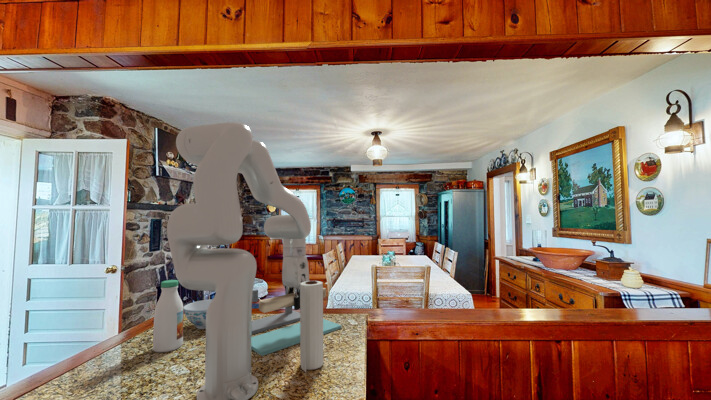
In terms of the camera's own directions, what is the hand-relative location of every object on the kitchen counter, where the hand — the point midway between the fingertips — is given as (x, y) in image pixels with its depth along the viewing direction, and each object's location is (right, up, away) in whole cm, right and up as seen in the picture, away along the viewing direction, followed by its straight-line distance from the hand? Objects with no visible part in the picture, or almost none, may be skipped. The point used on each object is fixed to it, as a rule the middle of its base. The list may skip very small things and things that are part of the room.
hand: (294, 307), depth 101 cm
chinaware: (-34, -11, +10) cm, 37 cm away
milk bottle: (-37, -9, -9) cm, 39 cm away
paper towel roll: (+8, -8, -22) cm, 25 cm away
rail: (0, +1, 0) cm, 1 cm away
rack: (-10, -10, +11) cm, 18 cm away
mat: (0, -9, -1) cm, 9 cm away
